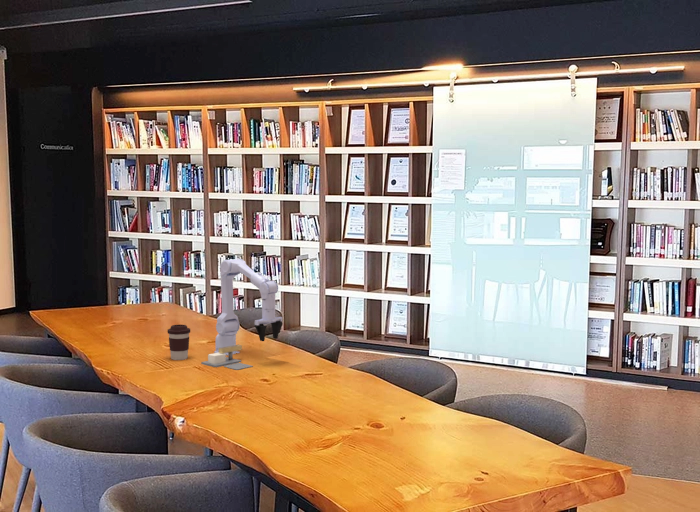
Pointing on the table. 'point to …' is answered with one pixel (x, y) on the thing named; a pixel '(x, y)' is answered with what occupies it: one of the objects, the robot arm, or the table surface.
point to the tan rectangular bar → (230, 348)
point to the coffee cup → (179, 341)
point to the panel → (228, 361)
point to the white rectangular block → (216, 358)
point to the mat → (238, 366)
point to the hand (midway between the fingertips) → (268, 339)
